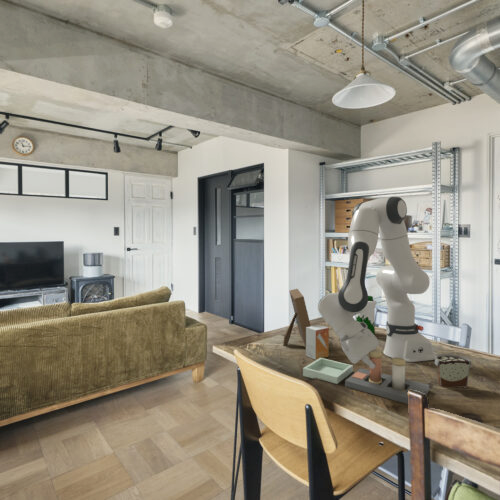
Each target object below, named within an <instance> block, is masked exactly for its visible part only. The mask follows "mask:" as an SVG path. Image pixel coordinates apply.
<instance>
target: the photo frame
mask: <svg viewBox="0 0 500 500" xmlns="http://www.w3.org/2000/svg"><path fill="white" fill-rule="evenodd" d="M289 294H290V295H289V296H290V298H291V303H292V306H293V311H294V315H293V317H292V319H291V320H290V323H289V326H288V327H287V330H286V332H285V334H284V337H283V344H282V346H286V345H288V344H289V340H290V339H291V335H292V332H293V328H294V325H295V321H296V323H297V328H298V332H299V335H300V336H299V337H301V340H302V343H303V344H304V347H305V348H306V327H310V326H312V325H311V321H310V317H309V312H308V310H307V305H306V301H305V297H304V295H303V294H302V293H301V291H300V290H299V289H298V288H295V289H291V290H290V289H289Z"/></svg>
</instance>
